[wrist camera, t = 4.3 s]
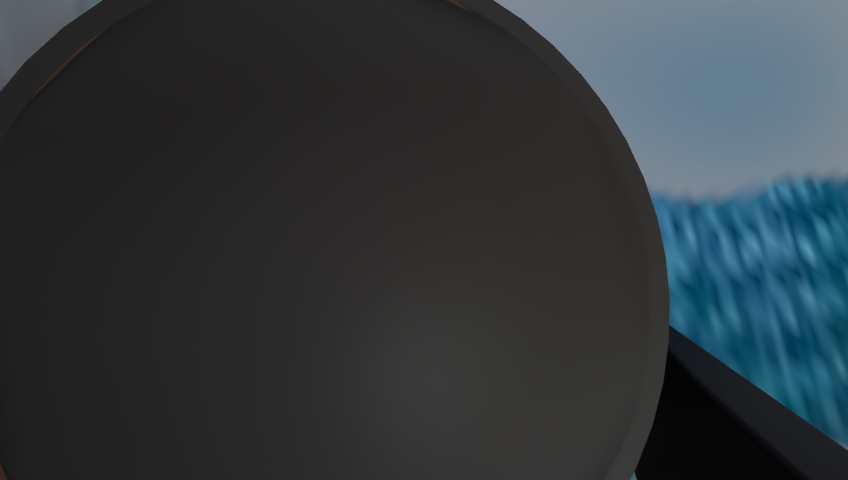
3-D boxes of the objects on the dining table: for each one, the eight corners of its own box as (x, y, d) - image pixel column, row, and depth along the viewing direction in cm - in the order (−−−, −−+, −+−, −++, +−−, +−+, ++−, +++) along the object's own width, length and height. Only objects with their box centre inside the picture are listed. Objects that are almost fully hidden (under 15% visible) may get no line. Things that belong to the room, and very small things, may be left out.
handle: (395, 459, 13) (896, 888, 3) (140, 461, 12) (-761, 1259, 1) (404, 229, 14) (801, -121, 4) (169, 208, 13) (-251, -401, 2)
